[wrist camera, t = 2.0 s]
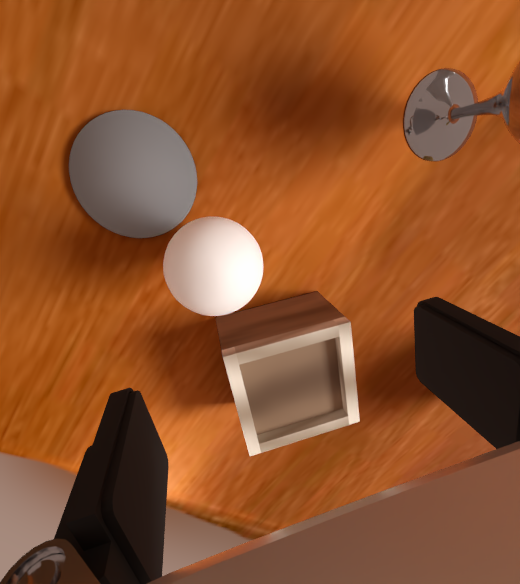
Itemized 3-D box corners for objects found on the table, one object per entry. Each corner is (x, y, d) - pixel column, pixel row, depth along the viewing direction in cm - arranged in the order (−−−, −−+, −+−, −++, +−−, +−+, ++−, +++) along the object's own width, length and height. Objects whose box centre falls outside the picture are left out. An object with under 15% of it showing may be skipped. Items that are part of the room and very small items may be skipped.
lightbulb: (191, 190, 26) (193, 201, 16) (256, 228, 28) (294, 259, 18) (157, 256, 27) (139, 305, 17) (221, 287, 29) (239, 348, 19)
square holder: (215, 317, 30) (222, 357, 24) (317, 291, 31) (350, 321, 25) (238, 402, 34) (249, 456, 27) (328, 375, 35) (359, 421, 29)
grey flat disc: (43, 146, 23) (40, 146, 22) (156, 88, 23) (156, 86, 23) (119, 256, 27) (118, 258, 26) (217, 204, 27) (217, 205, 26)
